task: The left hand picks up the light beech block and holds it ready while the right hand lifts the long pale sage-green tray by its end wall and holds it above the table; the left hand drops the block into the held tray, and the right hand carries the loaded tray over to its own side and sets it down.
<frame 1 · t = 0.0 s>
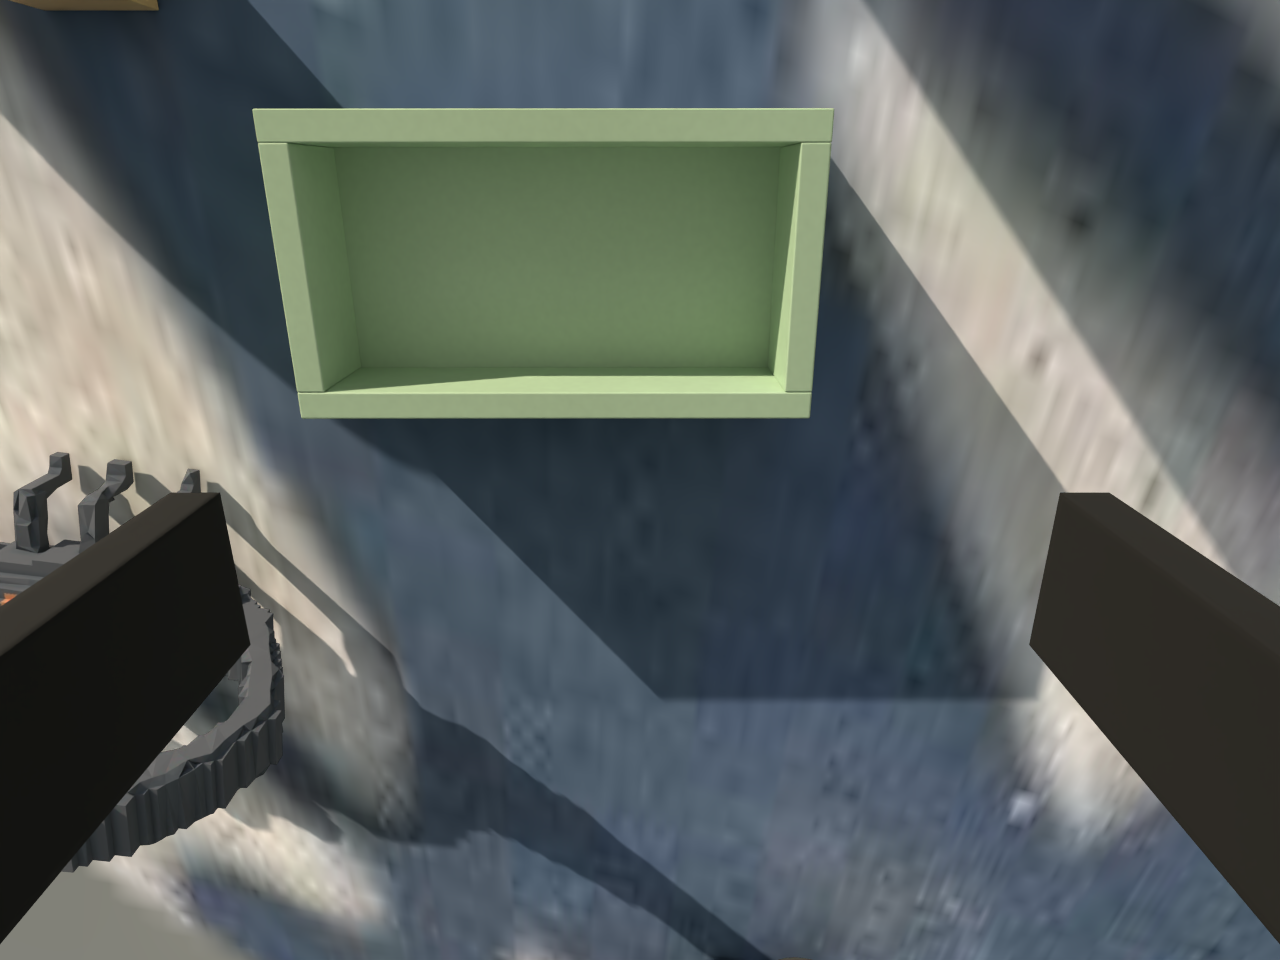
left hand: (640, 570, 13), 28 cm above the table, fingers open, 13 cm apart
tray: (562, 260, 38), on the table
toy: (114, 560, 44), on the table
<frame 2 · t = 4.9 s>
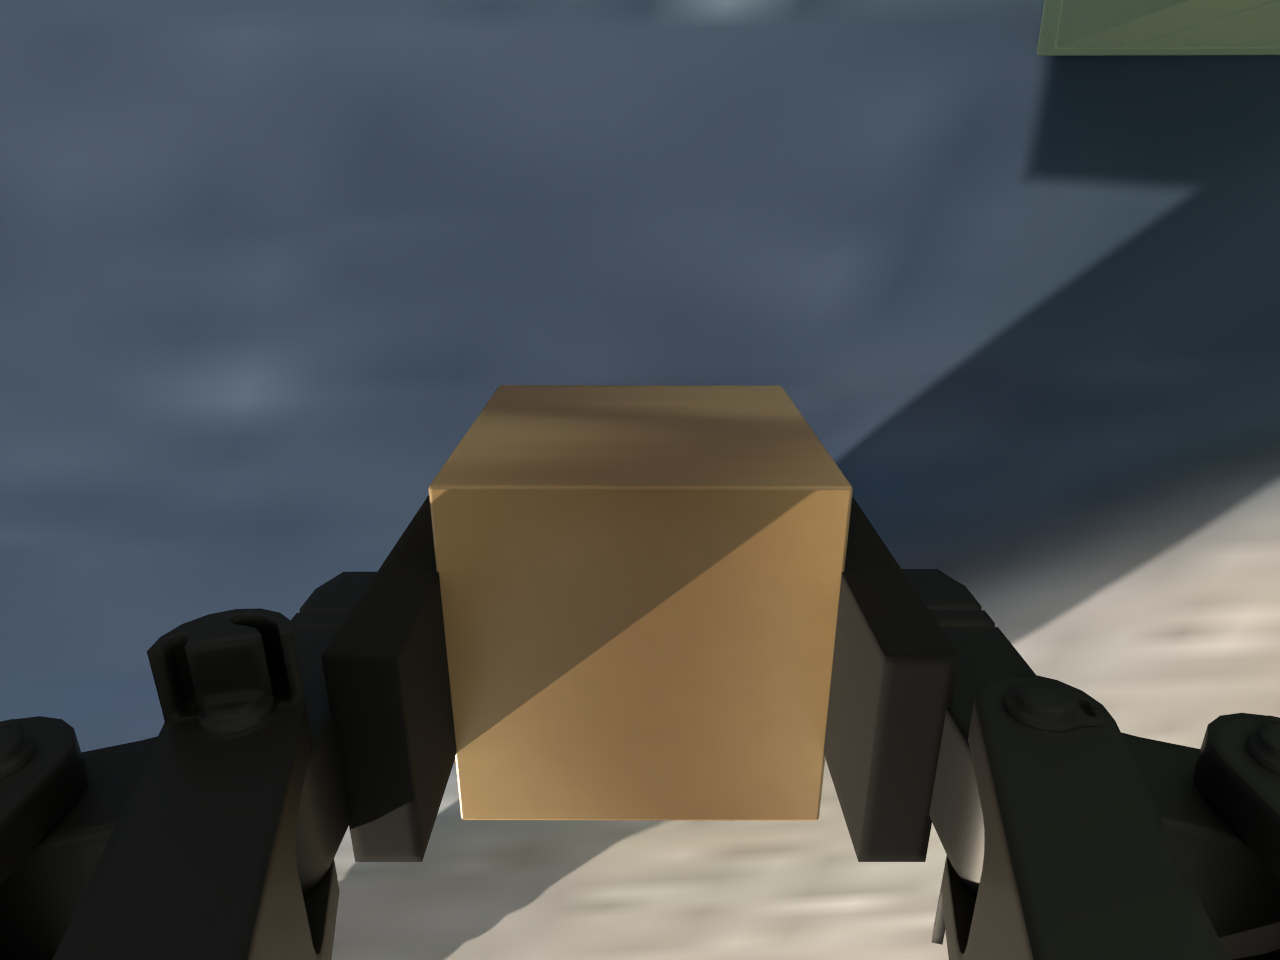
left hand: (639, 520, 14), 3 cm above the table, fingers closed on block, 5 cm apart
block: (640, 515, 15), point 3 cm above the table, touching left hand
when the left hand's fingers open (15 cm above the table, at t = 10.5 s): block drops 12 cm, resting on tray.
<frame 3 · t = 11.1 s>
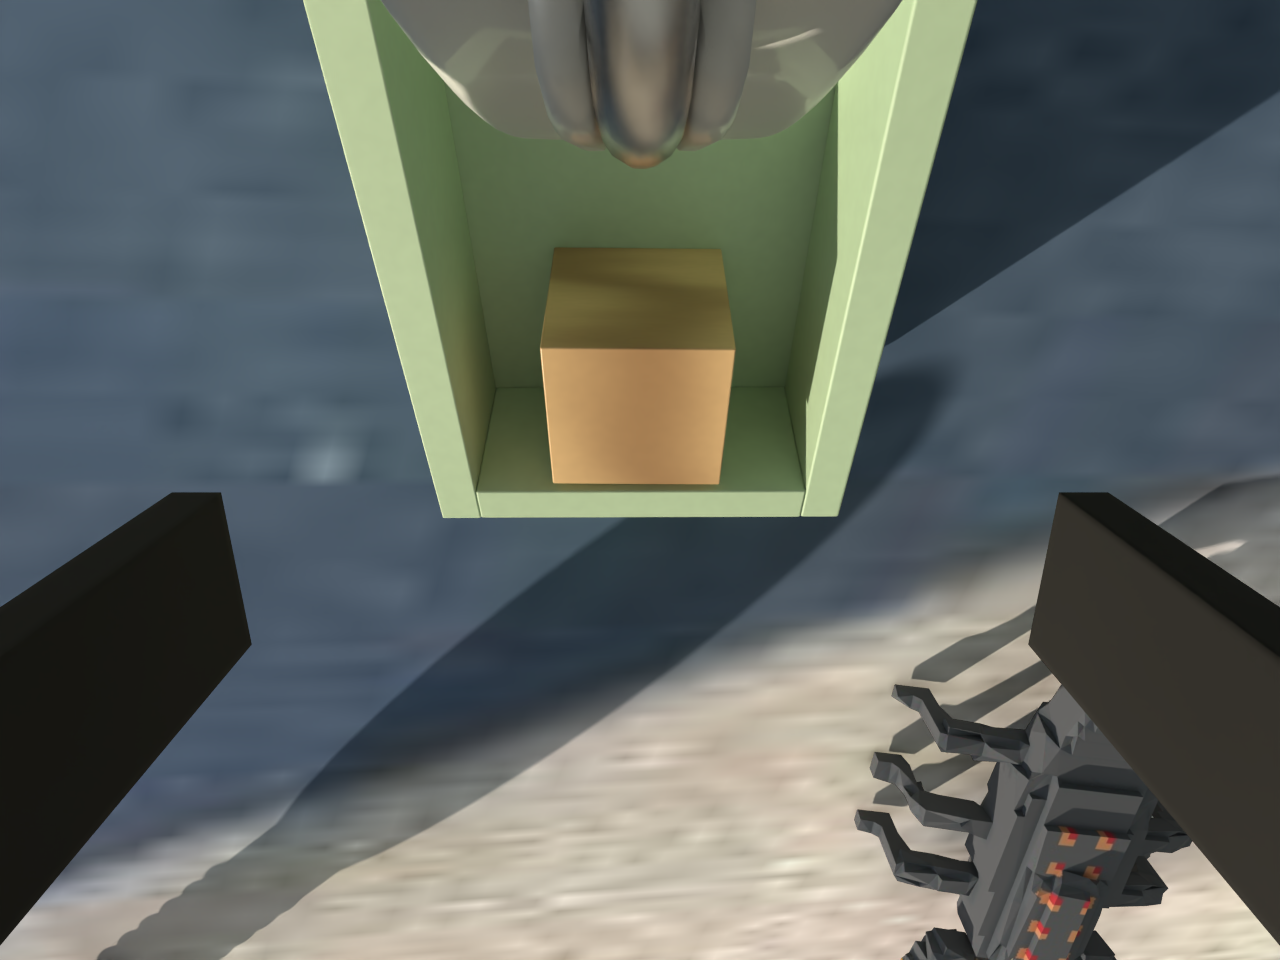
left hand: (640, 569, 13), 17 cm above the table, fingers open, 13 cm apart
tray: (640, 69, 21), point 5 cm above the table, tilted 25°, touching block, right hand
block: (637, 318, 25), point 2 cm above the table, tilted 25°, touching tray
toy: (999, 792, 35), on the table
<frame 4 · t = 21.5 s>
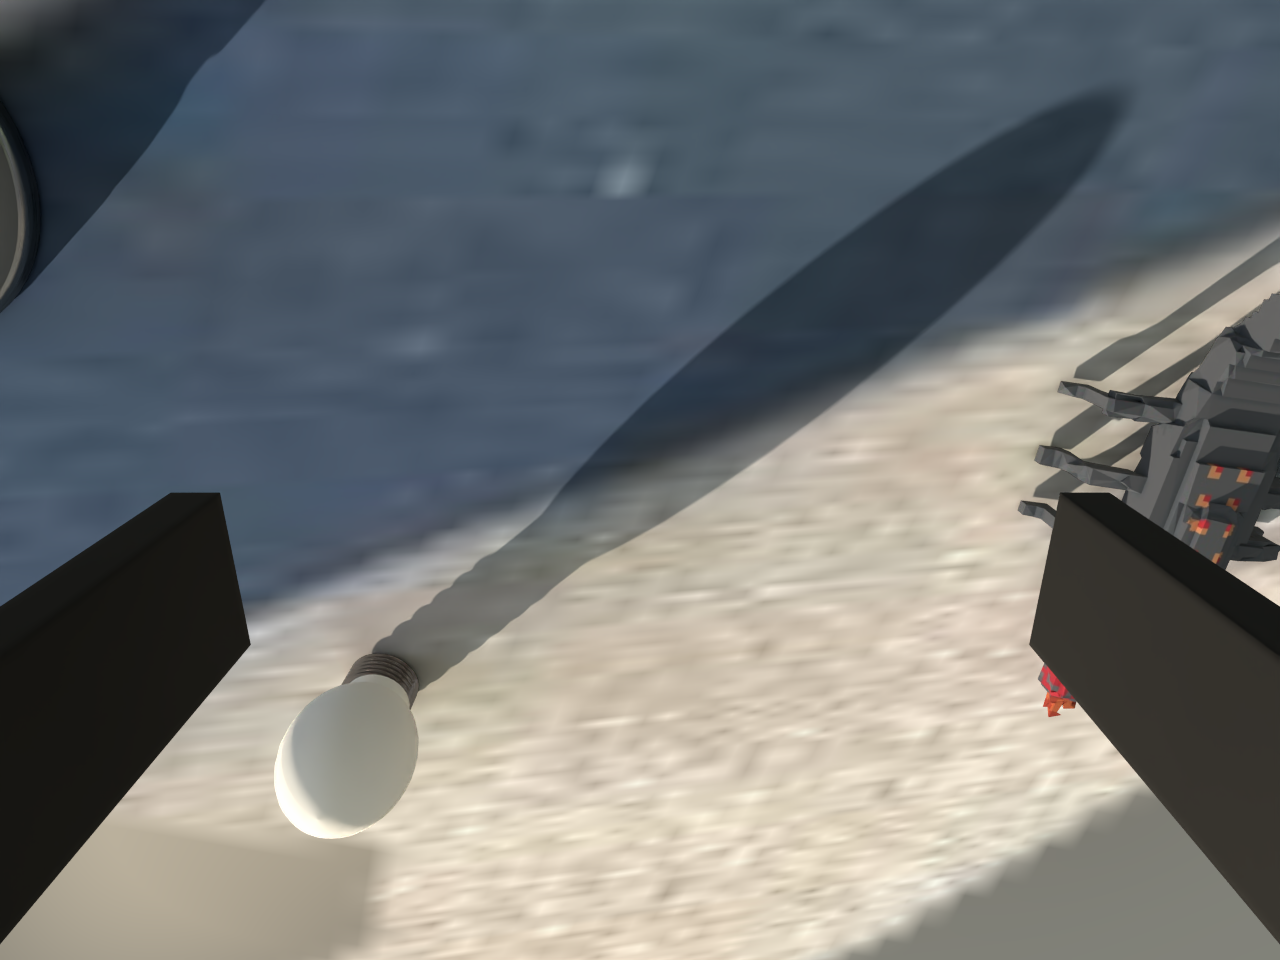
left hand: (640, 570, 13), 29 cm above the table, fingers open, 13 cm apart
toy: (1138, 485, 43), on the table
light bulb: (388, 677, 47), on the table
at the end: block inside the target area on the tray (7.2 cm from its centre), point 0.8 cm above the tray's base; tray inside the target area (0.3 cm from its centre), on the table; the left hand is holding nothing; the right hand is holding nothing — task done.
